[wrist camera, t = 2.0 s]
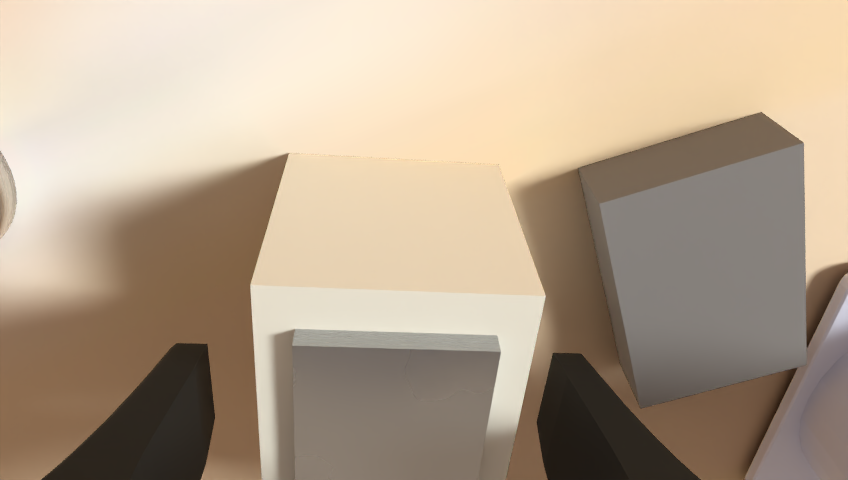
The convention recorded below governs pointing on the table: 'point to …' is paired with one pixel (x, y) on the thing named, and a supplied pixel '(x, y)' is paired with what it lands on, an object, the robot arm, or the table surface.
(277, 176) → the table surface
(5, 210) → the round metal disc
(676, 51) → the table surface
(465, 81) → the table surface
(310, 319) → the housing
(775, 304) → the block
